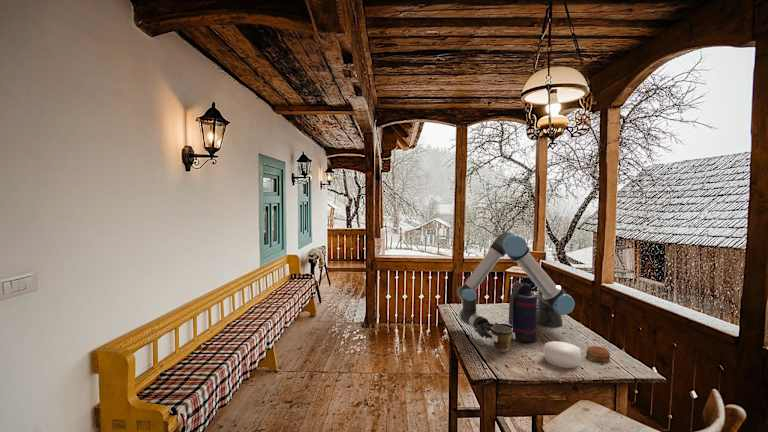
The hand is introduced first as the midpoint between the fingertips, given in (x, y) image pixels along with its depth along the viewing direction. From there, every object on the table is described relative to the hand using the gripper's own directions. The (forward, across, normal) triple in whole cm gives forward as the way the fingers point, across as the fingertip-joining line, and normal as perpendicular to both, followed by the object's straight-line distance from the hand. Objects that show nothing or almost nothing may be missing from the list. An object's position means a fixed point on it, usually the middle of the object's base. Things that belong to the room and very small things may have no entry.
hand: (505, 337), depth 177 cm
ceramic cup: (-4, +1, -7) cm, 8 cm away
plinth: (+15, -20, -8) cm, 26 cm away
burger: (+18, -38, -9) cm, 43 cm away
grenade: (-12, -20, -8) cm, 25 cm away
